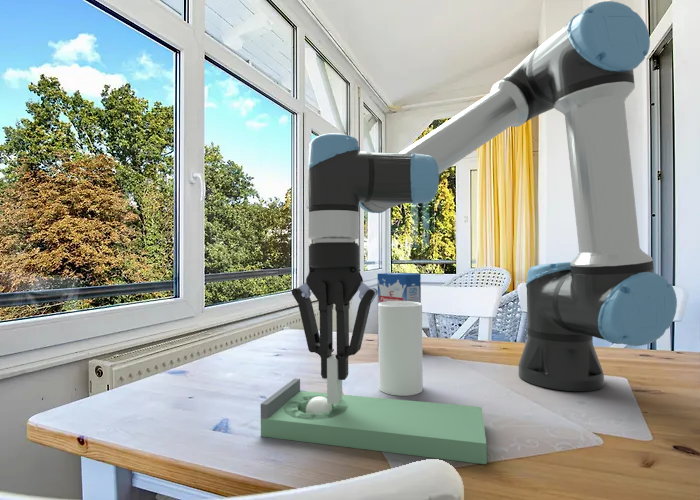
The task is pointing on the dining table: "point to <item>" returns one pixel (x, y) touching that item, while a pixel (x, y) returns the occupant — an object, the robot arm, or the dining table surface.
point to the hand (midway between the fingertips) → (334, 400)
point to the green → (378, 425)
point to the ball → (318, 405)
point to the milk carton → (399, 287)
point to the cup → (400, 347)
